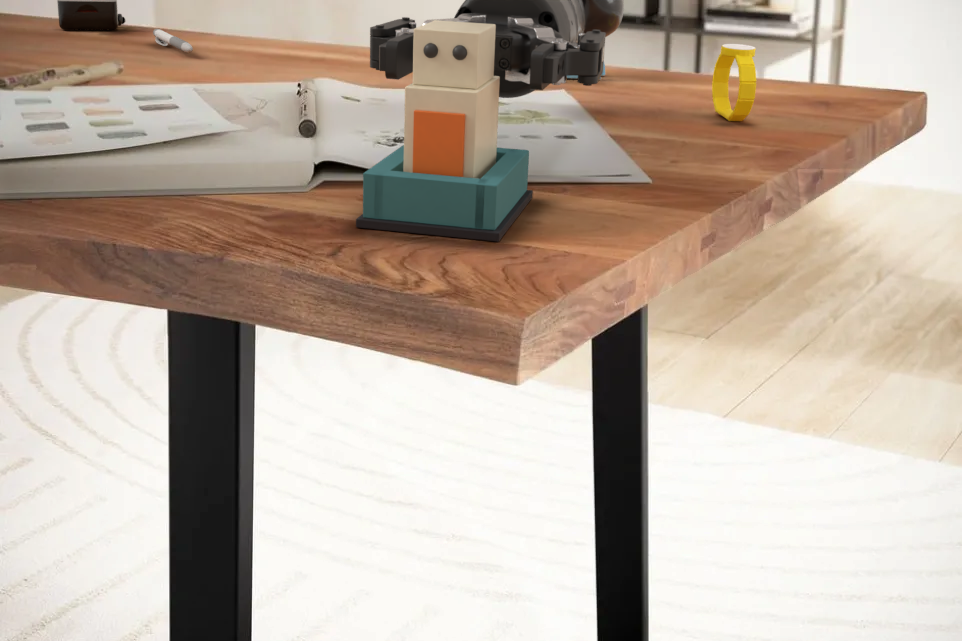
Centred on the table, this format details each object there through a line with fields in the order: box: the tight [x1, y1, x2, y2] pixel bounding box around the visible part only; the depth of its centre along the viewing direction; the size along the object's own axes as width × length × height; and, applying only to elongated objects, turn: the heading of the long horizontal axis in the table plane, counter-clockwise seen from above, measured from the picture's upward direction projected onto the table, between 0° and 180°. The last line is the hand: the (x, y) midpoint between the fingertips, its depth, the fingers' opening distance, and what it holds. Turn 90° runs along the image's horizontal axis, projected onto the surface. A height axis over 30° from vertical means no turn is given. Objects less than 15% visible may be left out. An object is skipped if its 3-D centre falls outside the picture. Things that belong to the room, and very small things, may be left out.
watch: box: [711, 43, 757, 122], centre depth 102 cm, size 6×3×6 cm, turn 12°
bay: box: [355, 144, 534, 243], centre depth 70 cm, size 10×8×3 cm
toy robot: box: [403, 20, 500, 179], centre depth 69 cm, size 6×4×10 cm, turn 168°
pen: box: [152, 28, 194, 53], centre depth 127 cm, size 1×14×1 cm, turn 28°
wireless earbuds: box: [56, 0, 127, 32], centre depth 139 cm, size 5×7×3 cm, turn 105°
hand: (463, 66), depth 70 cm, fingers open, 8 cm apart
